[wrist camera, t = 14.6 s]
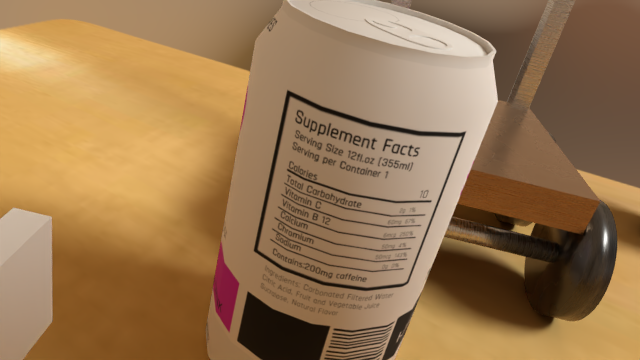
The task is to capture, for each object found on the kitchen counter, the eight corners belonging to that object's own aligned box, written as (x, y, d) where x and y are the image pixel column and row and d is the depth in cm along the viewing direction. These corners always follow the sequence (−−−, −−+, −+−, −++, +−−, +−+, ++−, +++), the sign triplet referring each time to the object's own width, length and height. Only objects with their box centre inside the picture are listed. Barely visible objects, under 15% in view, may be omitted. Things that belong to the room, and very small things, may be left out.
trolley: (504, 197, 44) (676, -189, 32) (571, 348, 29) (944, -273, 17) (321, 152, 44) (425, -256, 32) (293, 281, 29) (471, -402, 17)
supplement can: (166, 330, 24) (212, -23, 17) (302, 273, 30) (377, -8, 23) (285, 473, 19) (412, 70, 13) (419, 374, 25) (556, 59, 18)
